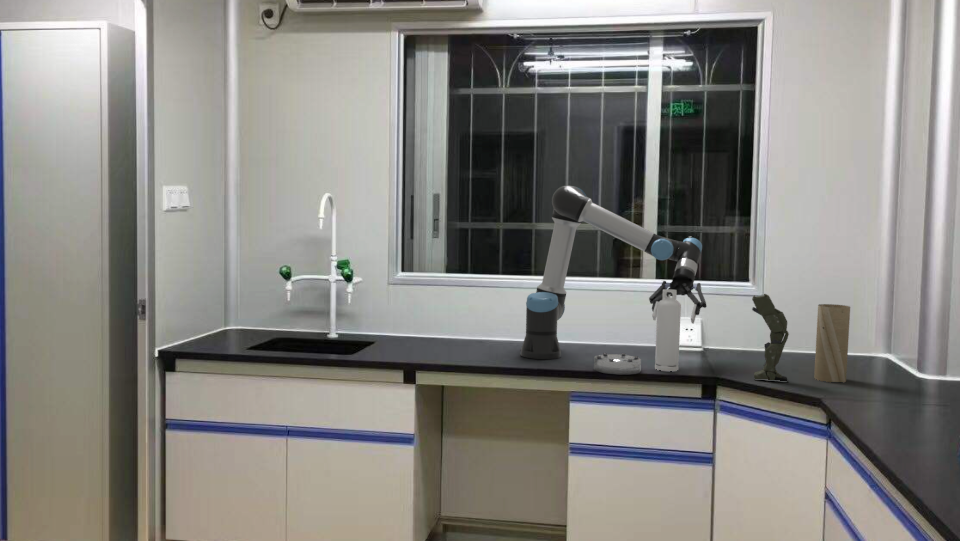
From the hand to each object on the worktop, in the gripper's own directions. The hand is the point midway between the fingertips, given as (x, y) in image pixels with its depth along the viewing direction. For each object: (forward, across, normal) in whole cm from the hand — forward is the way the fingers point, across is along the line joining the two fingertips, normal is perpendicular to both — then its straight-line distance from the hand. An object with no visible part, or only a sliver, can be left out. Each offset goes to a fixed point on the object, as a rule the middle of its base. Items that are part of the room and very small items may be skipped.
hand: (672, 319), depth 294 cm
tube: (+4, -51, -21) cm, 55 cm away
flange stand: (+22, +16, -3) cm, 27 cm away
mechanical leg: (+13, -33, -12) cm, 37 cm away
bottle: (+14, +1, -11) cm, 18 cm away
